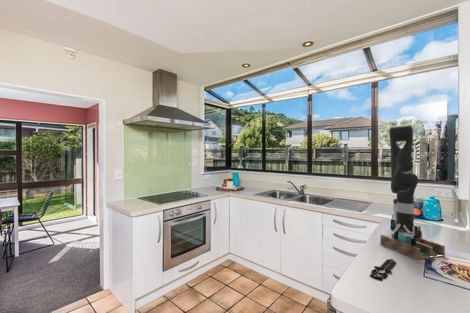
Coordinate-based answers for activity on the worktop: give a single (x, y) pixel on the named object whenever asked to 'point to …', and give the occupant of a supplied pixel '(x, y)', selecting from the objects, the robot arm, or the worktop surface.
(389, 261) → the black bumpy piece
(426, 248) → the wooden bookshelf
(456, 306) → the worktop surface
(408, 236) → the teal plug
